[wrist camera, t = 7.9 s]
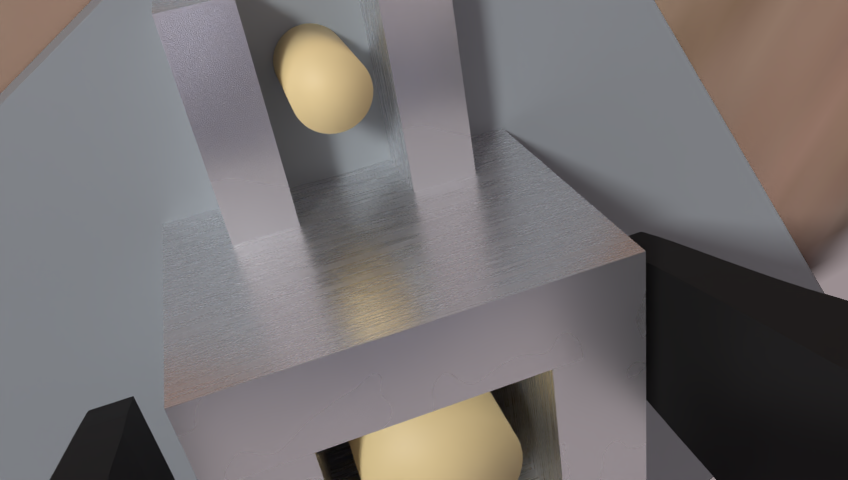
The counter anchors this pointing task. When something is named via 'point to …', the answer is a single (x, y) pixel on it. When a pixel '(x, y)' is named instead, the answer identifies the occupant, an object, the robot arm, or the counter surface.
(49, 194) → the base plate
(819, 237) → the counter surface
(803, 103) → the counter surface
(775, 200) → the counter surface
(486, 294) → the metal bracket with prongs
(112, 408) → the robot arm
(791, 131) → the counter surface
